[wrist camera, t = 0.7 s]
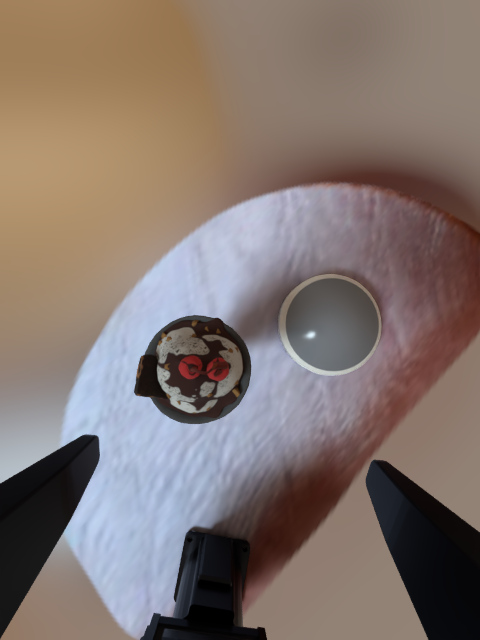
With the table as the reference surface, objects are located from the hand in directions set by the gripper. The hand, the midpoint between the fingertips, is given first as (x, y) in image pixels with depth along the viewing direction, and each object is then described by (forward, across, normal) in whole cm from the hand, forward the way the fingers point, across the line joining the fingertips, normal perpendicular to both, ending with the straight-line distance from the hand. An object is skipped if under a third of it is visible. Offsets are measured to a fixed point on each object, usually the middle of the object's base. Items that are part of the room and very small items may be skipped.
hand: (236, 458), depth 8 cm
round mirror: (+18, -9, 0) cm, 20 cm away
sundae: (+17, +2, +4) cm, 17 cm away
